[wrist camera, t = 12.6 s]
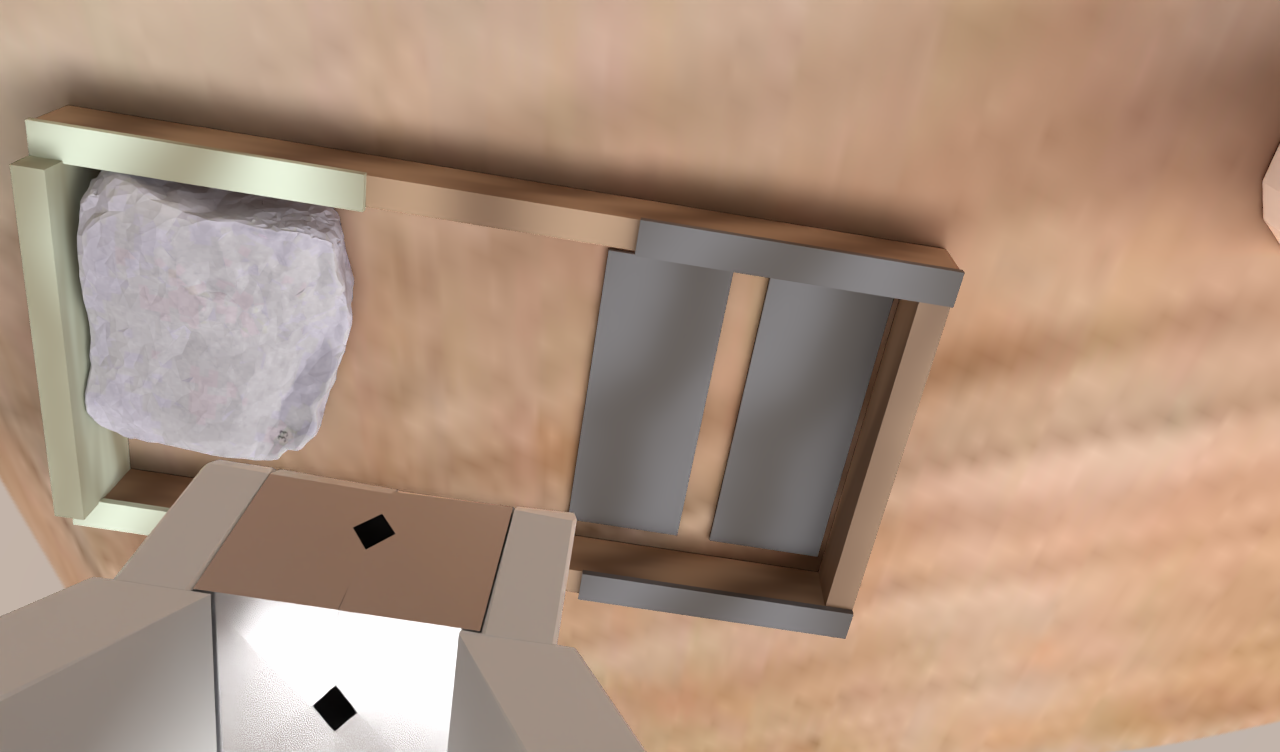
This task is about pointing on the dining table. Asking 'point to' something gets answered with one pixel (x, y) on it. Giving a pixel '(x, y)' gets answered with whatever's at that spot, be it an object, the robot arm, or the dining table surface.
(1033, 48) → the dining table surface
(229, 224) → the stone block
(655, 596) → the box
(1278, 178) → the white cup
